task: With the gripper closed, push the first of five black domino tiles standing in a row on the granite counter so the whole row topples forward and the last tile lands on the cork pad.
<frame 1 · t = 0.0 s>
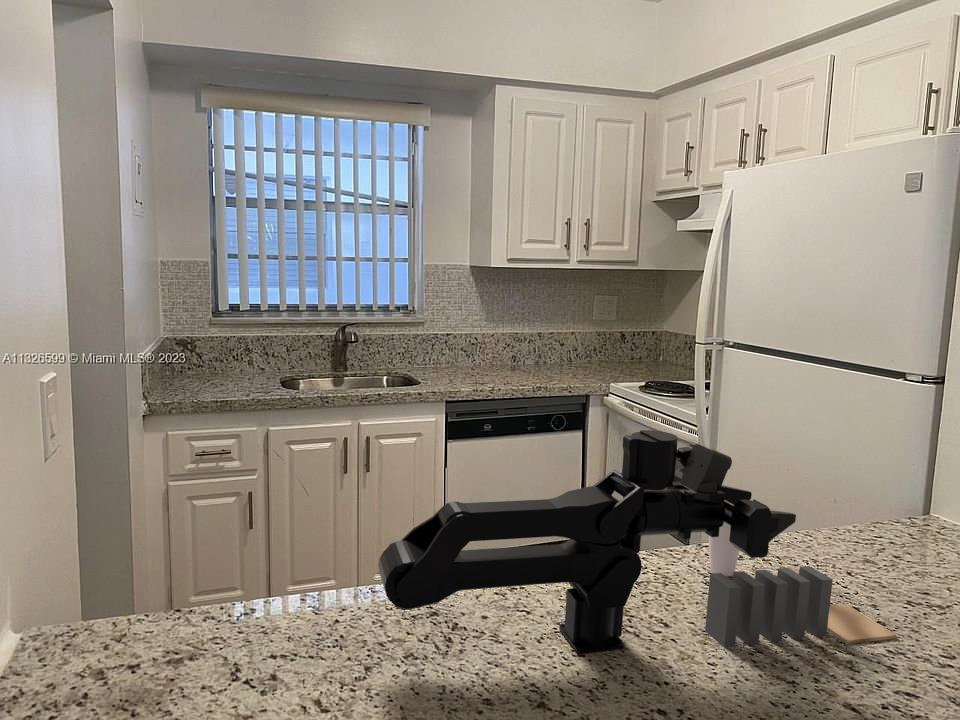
hand: (771, 506, 98), 17 cm above the countertop, tool horizontal, fingers open, 9 cm apart
smoothie: (722, 572, 117), on the countertop
tile4: (787, 631, 98), on the countertop
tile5: (809, 628, 99), on the countertop
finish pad: (846, 624, 100), on the countertop
tile3: (765, 633, 97), on the countertop
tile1: (719, 638, 95), on the countertop
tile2: (742, 636, 96), on the countertop
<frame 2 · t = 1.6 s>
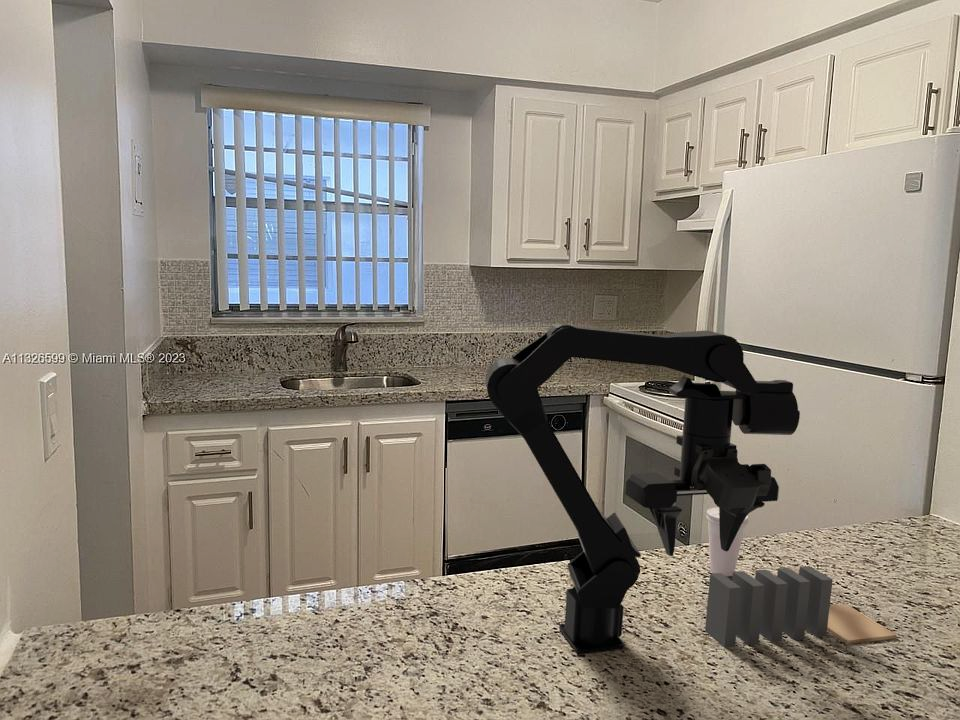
hand: (697, 552, 92), 12 cm above the countertop, tool pointing down, fingers open, 8 cm apart
nothing on the countertop moved.
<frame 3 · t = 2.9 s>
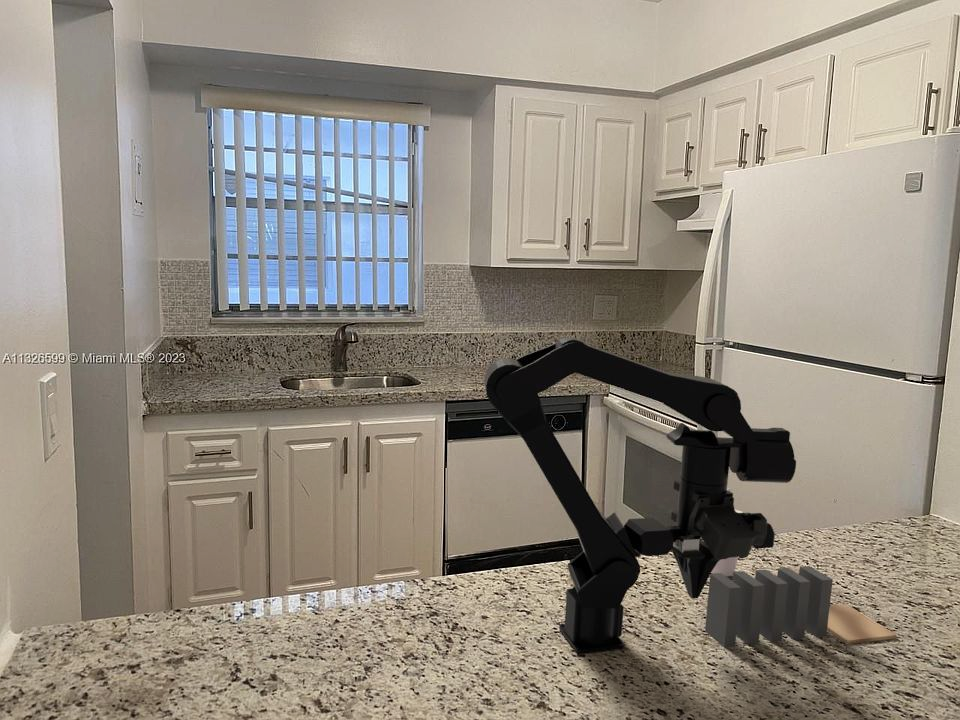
hand: (693, 597, 93), 6 cm above the countertop, tool pointing down, fingers closed
nothing on the countertop moved.
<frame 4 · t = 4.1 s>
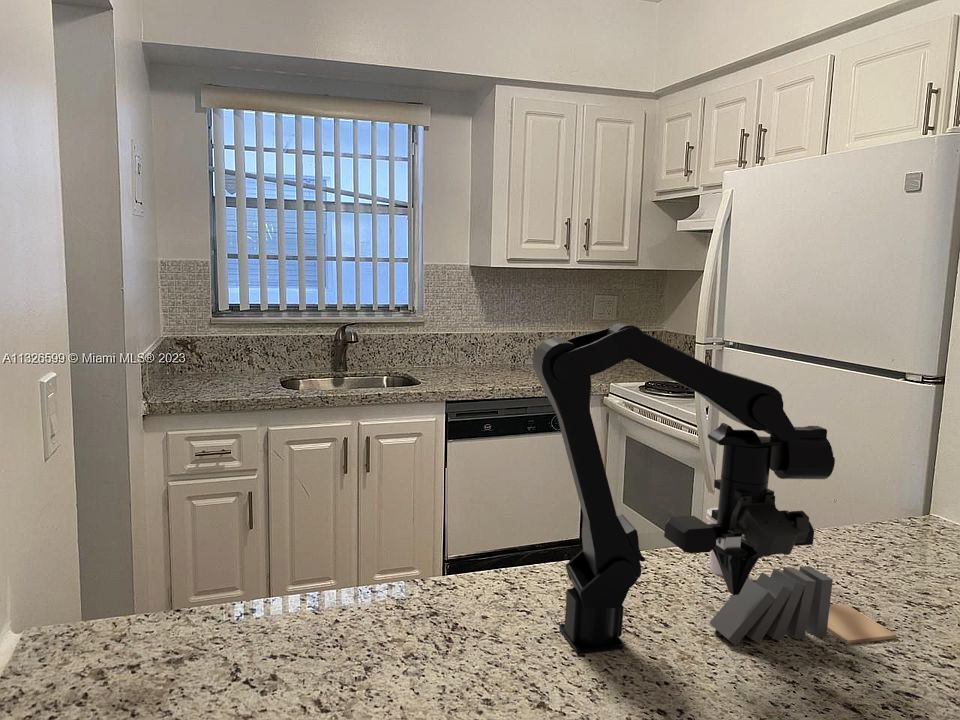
hand: (733, 593, 95), 6 cm above the countertop, tool pointing down, fingers closed
tile4: (788, 630, 98), on the countertop, tilted 7°, touching tile3
tile3: (766, 631, 97), on the countertop, tilted 20°, touching tile4
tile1: (722, 634, 95), point 1 cm above the countertop, tilted 42°
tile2: (744, 632, 96), on the countertop, tilted 31°
everything else where it was.
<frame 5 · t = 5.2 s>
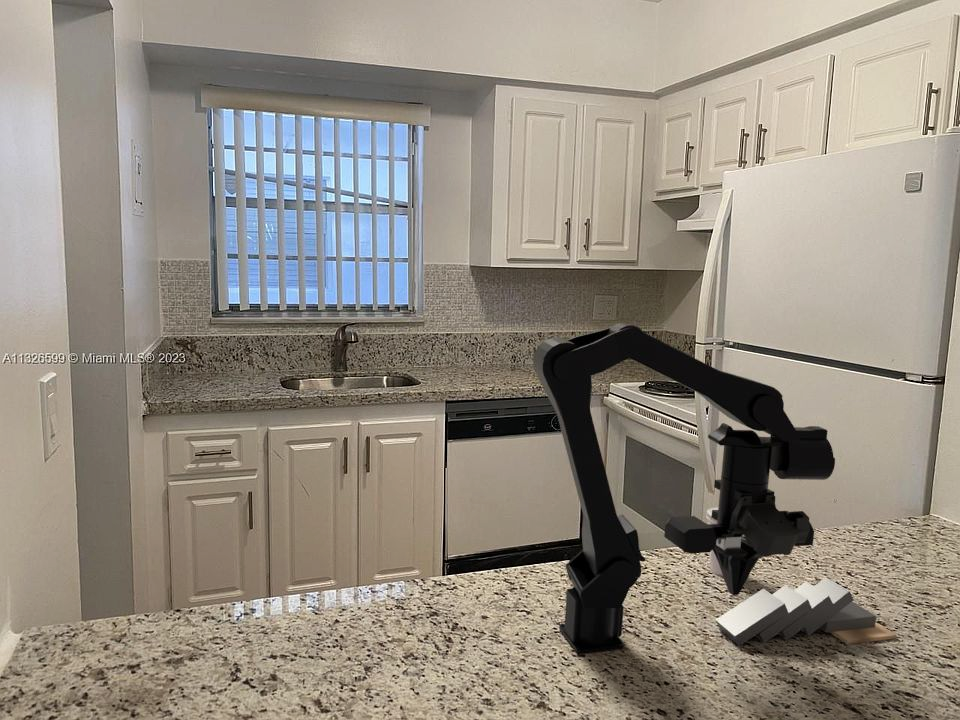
hand: (733, 593, 95), 6 cm above the countertop, tool pointing down, fingers closed
tile4: (795, 623, 98), point 1 cm above the countertop, tilted 56°, touching tile3, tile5
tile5: (815, 619, 99), point 1 cm above the countertop, tilted 90°, touching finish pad, tile4
tile3: (773, 627, 97), point 1 cm above the countertop, tilted 56°, touching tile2, tile4
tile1: (727, 632, 95), point 1 cm above the countertop, tilted 61°, touching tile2
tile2: (751, 630, 96), point 1 cm above the countertop, tilted 59°, touching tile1, tile3
everything else where it was.
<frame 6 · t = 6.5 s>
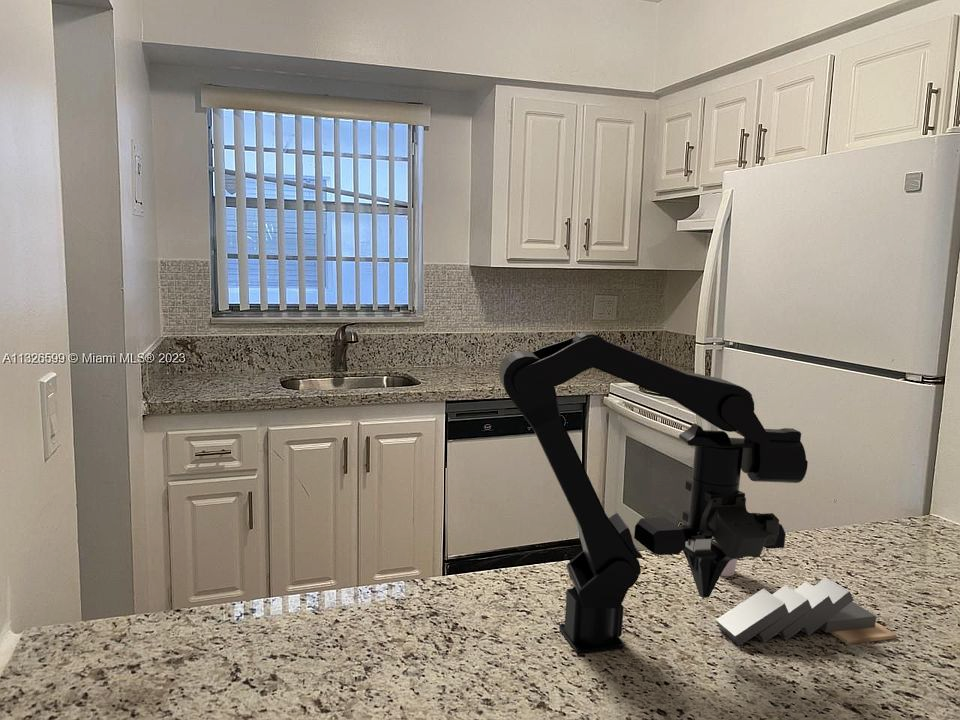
hand: (703, 596, 93), 6 cm above the countertop, tool pointing down, fingers closed
nothing on the countertop moved.
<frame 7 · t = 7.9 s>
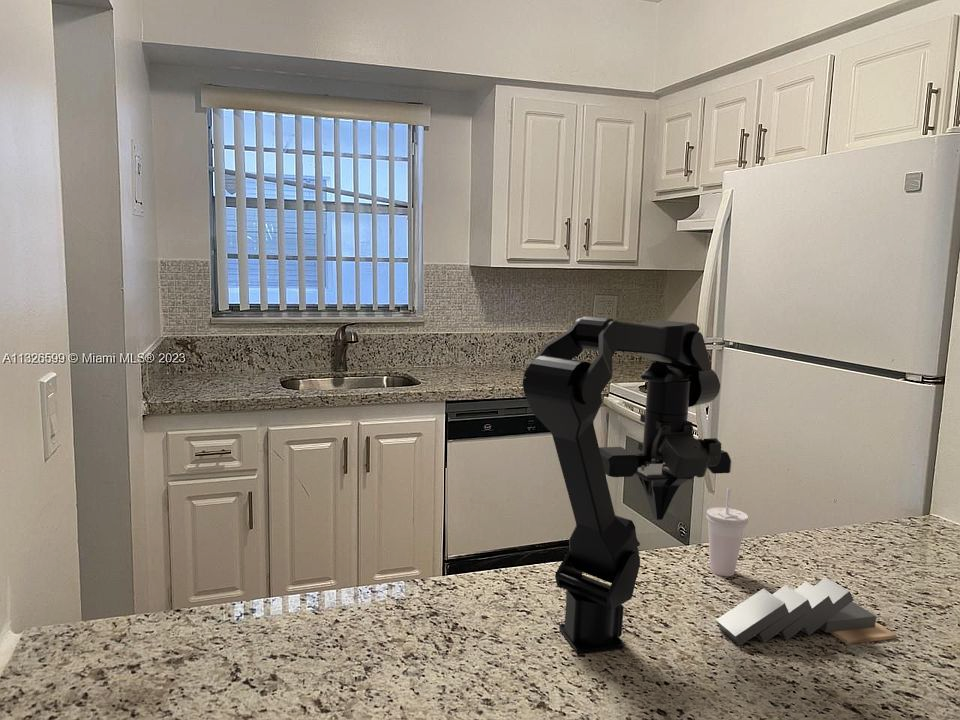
hand: (657, 519, 103), 12 cm above the countertop, tool pointing down, fingers closed
nothing on the countertop moved.
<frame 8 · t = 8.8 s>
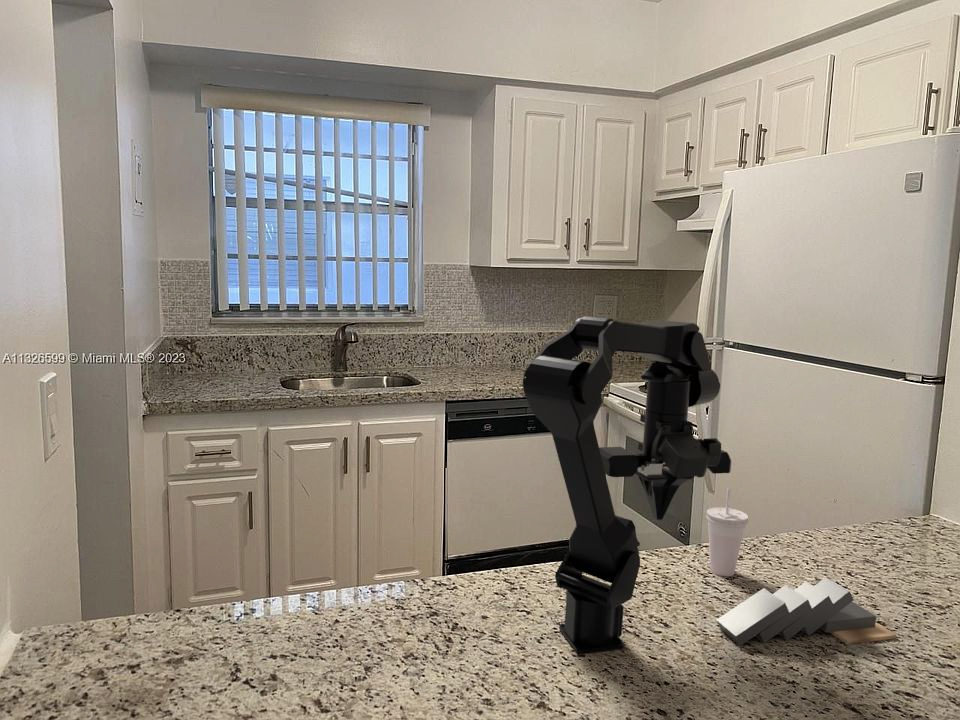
hand: (657, 519, 103), 12 cm above the countertop, tool pointing down, fingers closed
nothing on the countertop moved.
at the end: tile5 tilted 90°; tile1 tilted 61° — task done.
